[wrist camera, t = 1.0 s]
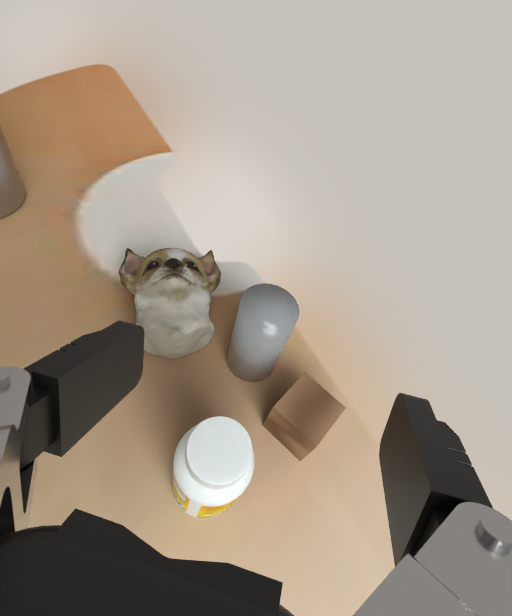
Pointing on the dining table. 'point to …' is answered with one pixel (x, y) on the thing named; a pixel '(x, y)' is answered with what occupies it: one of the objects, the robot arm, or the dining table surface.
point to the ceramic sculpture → (172, 299)
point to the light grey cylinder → (261, 331)
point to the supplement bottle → (212, 466)
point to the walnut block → (303, 416)
